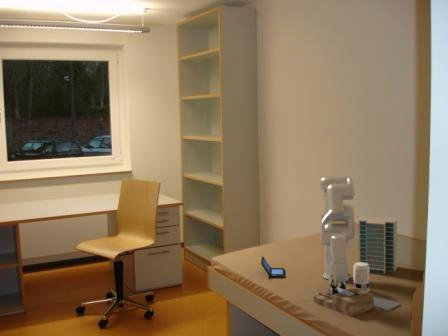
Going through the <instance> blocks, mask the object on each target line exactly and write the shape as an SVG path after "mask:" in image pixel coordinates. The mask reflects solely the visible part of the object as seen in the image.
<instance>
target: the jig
mask: <svg viewBox="0 0 448 336" xmlns="http://www.w3.org/2000/svg"><path fill="white" fill-rule="evenodd" d="M330 289H331V288H328V291H326V292H321V291H320V292H318V294H317V295H314V296H313V303H315V304H318V305H320V306H323V307H325V308H328V309H331V310H332V311H336V312H338V313H340V314H344V315H345V316H349V317H351V318H354V317H356V316H358V315H361V314H363V313H365V312H367V310H368V311H370V310H371V309H375V307H374V295H375V294H374V293H372V292H370V291H369V292H366V291H363V290H360V289H357V288H354V287H351V288H348V289H346V290H347V291H350V292H353V293H355V297H349V296H346V295H343V294H340V293H337V294H335V295H332V296H330Z"/></svg>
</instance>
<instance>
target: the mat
mask: <svg viewBox="0 0 448 336" xmlns="http://www.w3.org/2000/svg"><path fill="white" fill-rule="evenodd" d="M401 305H402V303H400V302H397V301H393V300H391V299H387V298H385V297H381V296H378V295H375V294H374V308H376V309H378V310H381V309H382V311H384V310H385V311H384V312H387V311H388V312H391V311H392V310H394V309H396V308H399V307H400V306H401Z"/></svg>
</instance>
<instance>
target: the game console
mask: <svg viewBox="0 0 448 336" xmlns="http://www.w3.org/2000/svg"><path fill="white" fill-rule="evenodd" d="M260 265H261V267H263V270H265V272H266V274H267V275H268V278H269V279H284V278H285V276H286V273H285V268H284V267H272V266H270V264H269V263H268V262H267V260H266V259H265V257H264V256H261V261H260ZM280 277H281V278H280ZM283 277H284V278H283Z"/></svg>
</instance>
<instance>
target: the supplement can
mask: <svg viewBox="0 0 448 336" xmlns="http://www.w3.org/2000/svg"><path fill="white" fill-rule="evenodd" d="M352 269H353V271H352V274H353V276H352V278H353V287H354V288H357V289H360V290H363V291H366V292H369V293H370V291H371V290H370V289H371V286H370V284H371V281H370V280H371V279H370V277H371V276H370V274H371V273H370V267H369V265H368V264H367V263H365V262H359V261H357V262H356V261H355V263H354V264H353V267H352ZM353 287H352V288H353Z"/></svg>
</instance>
